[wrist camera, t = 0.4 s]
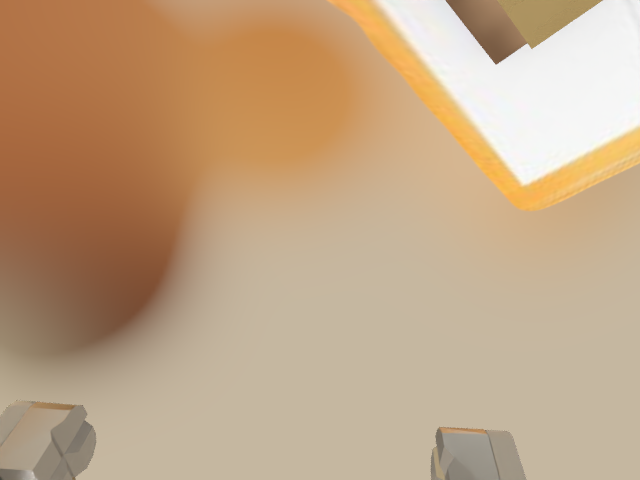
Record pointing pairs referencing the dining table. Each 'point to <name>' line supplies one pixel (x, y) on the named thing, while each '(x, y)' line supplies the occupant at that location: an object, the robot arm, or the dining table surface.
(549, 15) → the wooden cube block
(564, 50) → the dining table surface
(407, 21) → the dining table surface
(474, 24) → the walnut board
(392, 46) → the dining table surface
